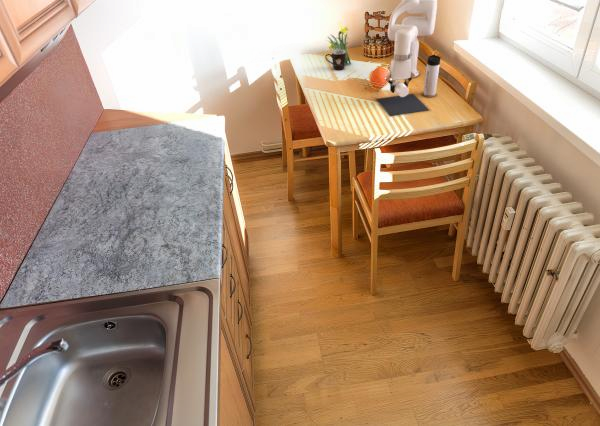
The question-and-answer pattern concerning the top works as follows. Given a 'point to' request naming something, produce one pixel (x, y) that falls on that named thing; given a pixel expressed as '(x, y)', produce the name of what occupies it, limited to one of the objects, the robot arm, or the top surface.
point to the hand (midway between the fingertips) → (398, 90)
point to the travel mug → (431, 76)
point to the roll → (401, 89)
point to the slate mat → (402, 104)
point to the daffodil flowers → (342, 44)
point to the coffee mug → (338, 59)
